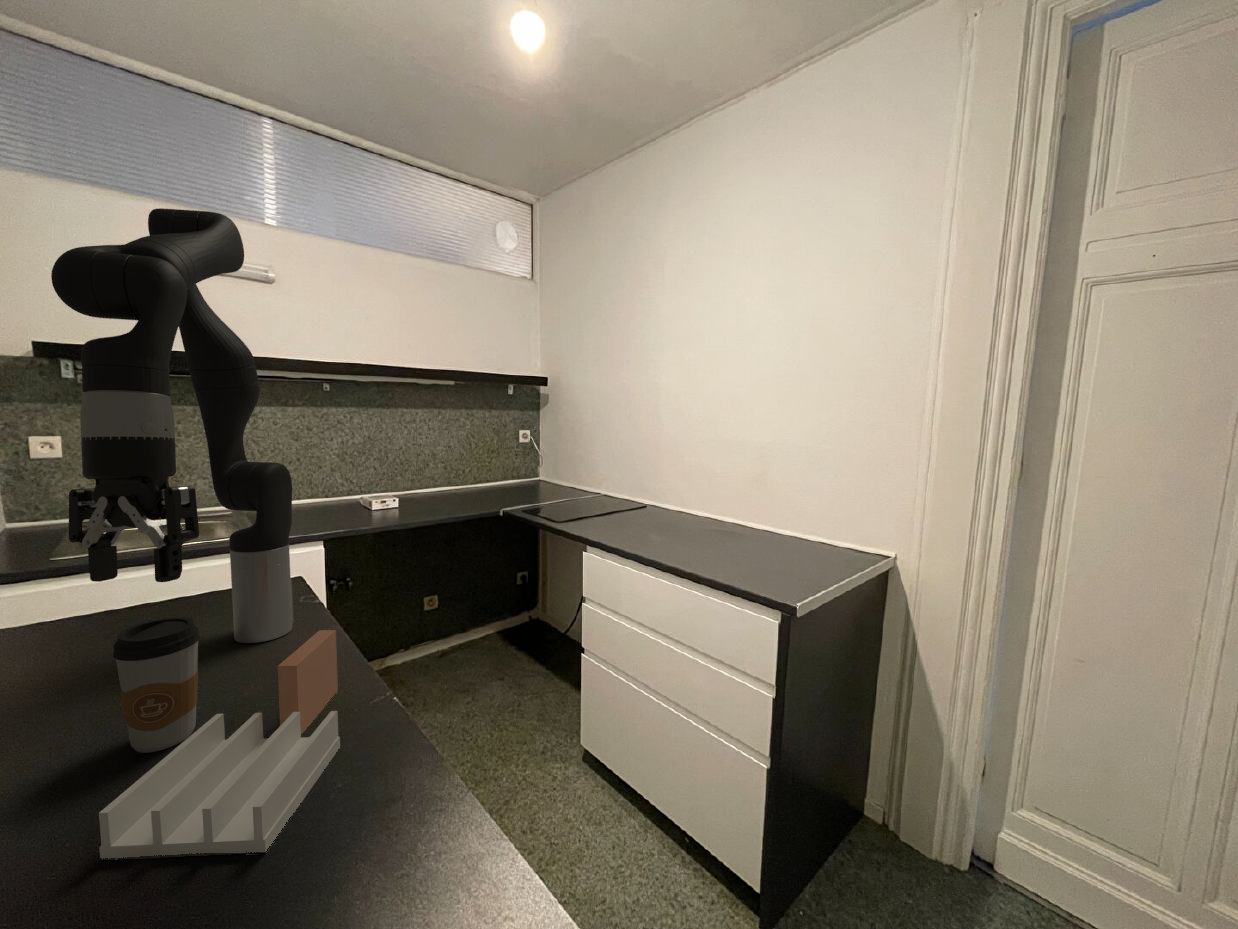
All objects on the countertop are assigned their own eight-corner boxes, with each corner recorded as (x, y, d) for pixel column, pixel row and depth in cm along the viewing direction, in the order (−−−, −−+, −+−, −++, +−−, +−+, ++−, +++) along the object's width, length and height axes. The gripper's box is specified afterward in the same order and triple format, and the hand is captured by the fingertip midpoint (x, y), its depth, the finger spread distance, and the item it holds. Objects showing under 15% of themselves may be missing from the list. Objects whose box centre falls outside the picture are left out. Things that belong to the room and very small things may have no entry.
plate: (321, 692, 78) (319, 630, 77) (337, 692, 79) (335, 630, 78) (280, 737, 67) (277, 666, 66) (299, 737, 68) (296, 665, 67)
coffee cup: (108, 767, 61) (98, 648, 60) (134, 728, 68) (126, 621, 67) (195, 748, 65) (189, 635, 63) (212, 713, 72) (206, 611, 71)
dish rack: (217, 751, 64) (215, 713, 64) (340, 747, 66) (339, 711, 65) (100, 861, 49) (96, 813, 48) (265, 853, 50) (263, 806, 49)
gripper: (217, 434, 59) (222, 573, 59) (115, 438, 61) (120, 572, 61) (147, 431, 52) (153, 590, 52) (34, 436, 54) (41, 588, 54)
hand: (135, 580), depth 57 cm, fingers open, 8 cm apart
